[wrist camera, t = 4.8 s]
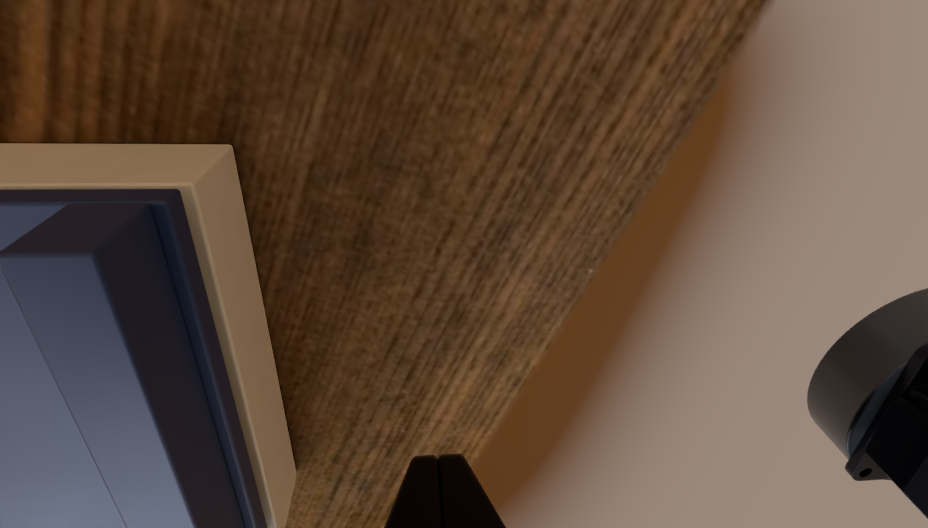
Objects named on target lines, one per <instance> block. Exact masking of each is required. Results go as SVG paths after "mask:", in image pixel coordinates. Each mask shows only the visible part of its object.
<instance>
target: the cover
mask: <svg viewBox="0 0 928 528" xmlns="http://www.w3.org/2000/svg"><path fill="white" fill-rule="evenodd" d="M0 528H267V524H266V520H265V516H264V512H263V509H262V505H261V501H260V497H259V493H258V489H257V485H256V482H255V478H254V474H253V470H252V466H251V462H250V458H249V455H248V451H247V447H246V443H245V439H244V435H243V431H242V428H241V424H240V420H239V416H238V412H237V408H236V404H235V401H234V397H233V393H232V389H231V385H230V381H229V377H228V374H227V370H226V366H225V362H224V358H223V354H222V350H221V347H220V343H219V339H218V335H217V331H216V327H215V323H214V319H213V316H212V312H211V308H210V304H209V300H208V296H207V292H206V289H205V285H204V281H203V277H202V273H201V269H200V265H199V262H198V258H197V254H196V250H195V246H194V242H193V238H192V235H191V231H190V227H189V223H188V219H187V215H186V211H185V208H184V204H183V200H182V196H181V192H180V191H179V190H178V189H35V190H0Z"/></svg>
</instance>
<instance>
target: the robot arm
mask: <svg viewBox="0 0 928 528" xmlns="http://www.w3.org/2000/svg"><path fill="white" fill-rule="evenodd" d="M845 470H846V471H847V472H848V473H849V475H850V476H851V477H852V478H853V479H854V480H856V481H868V480H881V479H882V480H883V479H891V480H892V481H893V482H894V483H895V484H896V486H897V487H898V488H899V489H900V490H901V491H902V492H903V493H904V494H905V495H906V496H907V497H908V498H909V499H910V500H911V501H912V502H913V504H914V505H915V506H916V507H917V508H918V509H919V510H920V511H921V512H922V513H923V514H924V515H925V516H926V517H927V518H928V343H926V344H924V345H922V346H920V347H919V348H918V349H916V351H915V352H914V353H913V354H912V356H911V358H910V359H909V361H908V363H907V364H906V366H905V368H904V369H903V371H902V373H901V374H900V376H899V378H898V379H897V381H896V382H895V384H894V386H893V387H892V389H891V391H890V392H889V394H888V396H887V397H886V399H885V401H884V402H883V404H882V406H881V407H880V409H879V411H878V412H877V414H876V415H875V417H874V419H873V420H872V422H871V424H870V425H869V427H868V429H867V430H866V432H865V434H864V435H863V437H862V439H861V440H860V442H859V444H858V445H857V447H856V449H855V450H854V452H853V453H852V455H851V457H850V458H849V460H848V462H847V463H846V465H845ZM384 528H506V527H505V525H504V524H503V522H502V521H501V519H500V517H499V515H498V513H497V512H496V510H495V508H494V507H493V505H492V503H491V502H490V500H489V498H488V496H487V495H486V493H485V492H484V490H483V488H482V486H481V485H480V483H479V481H478V480H477V478H476V476H475V474H474V473H473V471H472V469H471V468H470V466H469V464H468V462H467V461H466V459H465V458H464V456H463V455H461V454H443V455H440V456H439V457H438V459H437V457H436V456H434V455H426V456H415V457H413V459H412V460H411V462H410V464H409V467H408V469H407V472H406V474H405V477H404V479H403V482H402V484H401V487H400V489H399V492H398V494H397V497H396V499H395V502H394V504H393V507H392V509H391V512H390V514H389V517H388V519H387V522H386V524H385V527H384Z"/></svg>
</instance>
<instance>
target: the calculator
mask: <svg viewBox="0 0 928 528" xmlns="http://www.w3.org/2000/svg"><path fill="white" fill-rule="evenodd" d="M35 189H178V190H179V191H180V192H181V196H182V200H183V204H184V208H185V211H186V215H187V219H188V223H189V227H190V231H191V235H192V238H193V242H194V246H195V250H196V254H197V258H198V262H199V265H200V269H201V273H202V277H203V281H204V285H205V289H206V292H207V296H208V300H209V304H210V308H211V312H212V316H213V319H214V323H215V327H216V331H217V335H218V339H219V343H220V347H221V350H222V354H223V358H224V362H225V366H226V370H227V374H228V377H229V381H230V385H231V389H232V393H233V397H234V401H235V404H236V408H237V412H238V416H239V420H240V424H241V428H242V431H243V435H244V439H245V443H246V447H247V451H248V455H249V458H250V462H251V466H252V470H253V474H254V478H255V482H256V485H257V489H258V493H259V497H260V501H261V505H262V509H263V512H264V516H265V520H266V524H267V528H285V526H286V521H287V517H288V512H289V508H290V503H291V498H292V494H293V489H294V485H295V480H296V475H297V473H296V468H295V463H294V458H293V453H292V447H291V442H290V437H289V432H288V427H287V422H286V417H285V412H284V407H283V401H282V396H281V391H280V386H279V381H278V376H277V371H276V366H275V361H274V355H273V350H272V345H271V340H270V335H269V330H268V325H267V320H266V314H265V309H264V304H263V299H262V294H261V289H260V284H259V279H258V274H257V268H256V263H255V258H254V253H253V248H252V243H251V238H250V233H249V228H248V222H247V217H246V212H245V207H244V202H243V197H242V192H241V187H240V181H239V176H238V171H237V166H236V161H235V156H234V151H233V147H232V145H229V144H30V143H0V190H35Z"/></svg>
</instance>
